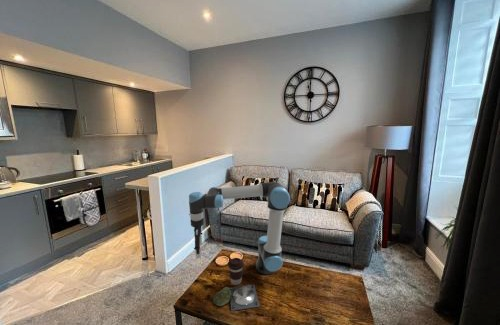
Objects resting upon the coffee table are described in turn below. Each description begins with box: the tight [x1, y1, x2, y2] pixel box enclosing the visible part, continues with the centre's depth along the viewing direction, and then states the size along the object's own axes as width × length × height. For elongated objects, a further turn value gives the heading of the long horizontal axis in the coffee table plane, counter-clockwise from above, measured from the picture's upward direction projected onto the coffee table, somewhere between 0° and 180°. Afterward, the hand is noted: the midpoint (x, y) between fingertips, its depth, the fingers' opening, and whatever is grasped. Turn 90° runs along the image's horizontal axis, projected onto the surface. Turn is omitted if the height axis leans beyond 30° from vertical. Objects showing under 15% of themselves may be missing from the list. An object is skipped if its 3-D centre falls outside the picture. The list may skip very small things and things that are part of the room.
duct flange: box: [228, 284, 260, 312], centre depth 126 cm, size 16×16×2 cm
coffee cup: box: [227, 257, 244, 286], centre depth 138 cm, size 10×10×15 cm
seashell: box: [212, 286, 231, 307], centre depth 125 cm, size 10×7×10 cm
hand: (199, 251), depth 128 cm, fingers open, 13 cm apart
